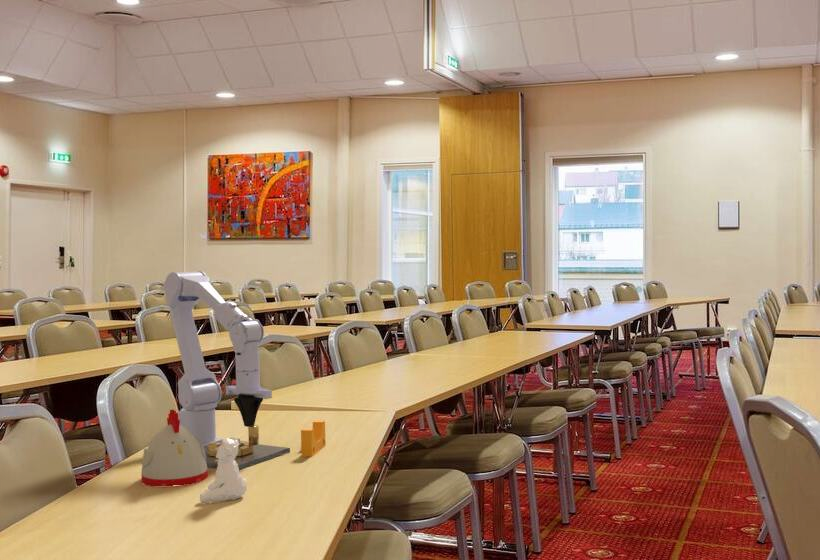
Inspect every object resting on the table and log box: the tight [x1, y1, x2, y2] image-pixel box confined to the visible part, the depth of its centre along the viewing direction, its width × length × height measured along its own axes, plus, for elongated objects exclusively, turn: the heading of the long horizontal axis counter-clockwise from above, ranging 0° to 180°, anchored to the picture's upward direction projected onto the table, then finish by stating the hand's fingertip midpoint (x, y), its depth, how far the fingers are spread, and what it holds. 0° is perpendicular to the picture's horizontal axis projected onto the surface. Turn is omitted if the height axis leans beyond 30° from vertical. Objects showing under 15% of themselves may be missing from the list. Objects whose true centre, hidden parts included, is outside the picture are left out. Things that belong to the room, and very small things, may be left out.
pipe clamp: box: [300, 420, 326, 458], centre depth 223 cm, size 12×4×6 cm, turn 170°
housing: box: [204, 437, 291, 471], centre depth 218 cm, size 20×20×4 cm
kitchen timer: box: [140, 409, 209, 487], centre depth 198 cm, size 14×14×15 cm
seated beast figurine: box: [199, 437, 247, 504], centre depth 183 cm, size 10×9×12 cm
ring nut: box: [207, 424, 260, 456], centre depth 218 cm, size 11×10×6 cm
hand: (249, 425), depth 222 cm, fingers closed
